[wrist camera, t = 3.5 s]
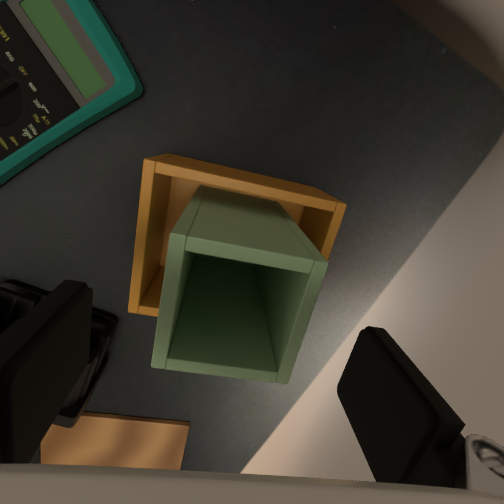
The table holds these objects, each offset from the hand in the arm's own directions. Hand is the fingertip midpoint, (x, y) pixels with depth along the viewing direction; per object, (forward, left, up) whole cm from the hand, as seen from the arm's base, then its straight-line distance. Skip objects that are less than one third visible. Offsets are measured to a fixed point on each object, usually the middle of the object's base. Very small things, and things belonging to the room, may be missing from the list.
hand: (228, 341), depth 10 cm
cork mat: (+7, +28, -14) cm, 32 cm away
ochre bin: (0, 0, -14) cm, 14 cm away
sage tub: (0, 0, -14) cm, 14 cm away
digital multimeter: (+15, -6, -14) cm, 21 cm away
